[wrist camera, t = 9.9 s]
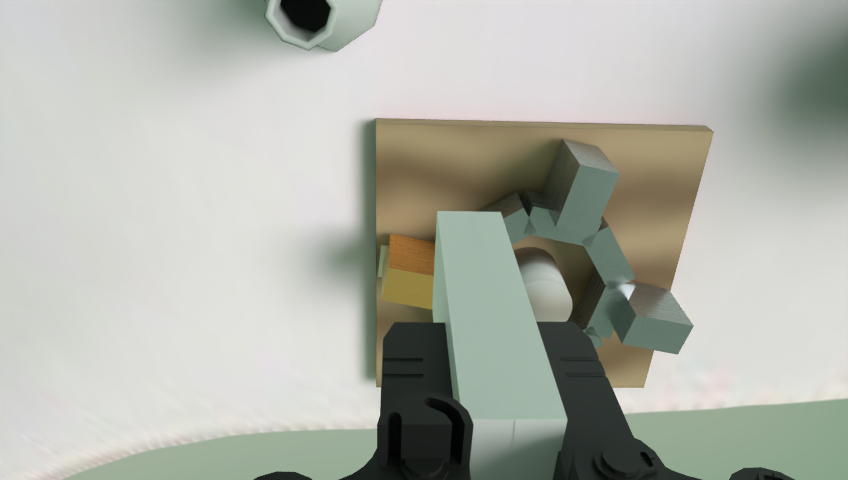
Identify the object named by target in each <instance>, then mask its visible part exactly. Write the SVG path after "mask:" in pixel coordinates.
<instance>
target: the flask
mask: <svg viewBox="0 0 848 480" xmlns="http://www.w3.org/2000/svg"><path fill="white" fill-rule="evenodd" d="M265 1H266V3H267V6H266V10H265V14H264V17H265V18H266V20H267V21H268V23H269V24H270V25H271V27H272V28H273V29H274V31H275V32H276V33H277V35H278V36H279V37H280V39H281V40H282V41H284V42H287V43H289V44H292V45H295V46H298V47H300V48H303V49H306V50H310V49H312V48H313V47H315V46H316V45H318V46H320V47H323V48H326V49H329V50H331V51H334V52H337V51H339V50H340V49H341V48H343V47H344V46H346V45H347V44H349V43H350V42H352V41H353V40H354V39H356V38H357V37H359V36H360V35H362V34H363V33H365V32H366V31H367V30H369V29H370V28H372V27H373V26H374V25H375V22H376V19H377V16H378V13H379V10H380V6H381V3H382V0H265Z"/></svg>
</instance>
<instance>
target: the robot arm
mask: <svg viewBox="0 0 848 480" xmlns="http://www.w3.org/2000/svg"><path fill="white" fill-rule="evenodd" d="M432 310H433V322H394V323H393V325H392V326H391V328H390V329H389V331H388V332H387V334H386V335H385V337H384V338H383V354H382V382H381V410H380V418H379V421H378V424H377V449H376V451H375V453H374V455H373V457H372V458H371V459H370V460H369V461H368V463H367V464H366V465H365V466H364V467H362V468H361V469H360V470H358V471H357V472H355V473H353V474H352V475H349V476H347V477H344V478H342V479H339V480H701V479H697V478H694V477H690V476H686V475H683V474H680V473H677V472H675V471H672V470H670V469H668V468H666V467H665V466H664V464H663V463H662V462H661V460H660V458H659V457H658V456H657V454H656V453H655V451H653V450H652V449H650V448H649V447H648V446H647V445H646V444H644V443H643V442H642V441H640V440H638V439H636V438H634V437H633V435H632V433H631V431H630V428H629V426H628V423H627V421H626V419H625V417H624V414H623V412H622V410H621V407H620V405H619V403H618V400H617V398H616V396H615V393H614V391H613V389H612V387H611V384H610V382H609V380H608V377H606V375H605V374H606V373H605V370H604V368H603V366H602V363H601V361H599V357H598V354H597V352H596V350H595V347H594V345H593V343H592V340H591V338H590V337H589V336H588V335H587V334H586V333H584V332H583V331H582V330H581V329H580V328H579V327H578V326H577V325H576V324H575V323H574V322H536V320H535V317H534V314H533V310H532V307H531V304H530V301H529V298H528V295H527V292H526V289H525V286H524V282H523V279H522V276H521V273H520V270H519V267H518V264H517V261H516V258H515V255H514V251H513V248H512V245H511V242H510V239H509V236H508V233H507V230H506V227H505V223H504V220H503V217H502V214H501V212H473V211H437V223H436V242H435V262H434V281H433V301H432ZM254 480H312V479H311V478H309V477H306V476H304V475H301V474H299V473H296V472H274V473H270V474H267V475H263V476H260V477H257V478H256V479H254ZM729 480H794V479H792V478H790V477H788V476H786V475H784V474H782V473H781V472H777V471H773V470H769V469H765V468H761V467H760V468H743V469H741V470H739V471H737V472H735V473H733V474H732V475H731V477H730V479H729Z"/></svg>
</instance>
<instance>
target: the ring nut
mask: <svg viewBox="0 0 848 480" xmlns="http://www.w3.org/2000/svg"><path fill="white" fill-rule="evenodd" d="M619 175H620V173H619V171H618V170H617V169H616V168H615V166H614V165H613V164H612V163H611V161H610V160H609V159H608V158H607V156H606V155H605V154H604V153H603V152H602V150H601V149H600V148H599V147H598V146H594V145H590V144H586V143H581V142H577V141H573V140H569V139H564V138H562V140H561V143H560V145H559V148H558V151H557V153H556V156H555V159H554V162H553V164H552V167H551V170H550V172H549V175H548V178H547V180H546V183H545V186H544V189H543V191H542V193H537V192H533V191H528V190H526V192H525V195H524V198H523V200H521V198H520V196H519V194H518V193H517V192H515V193H513V194H511V195H509V196H508V197H506V198H504V199H502V200H500V201H498V202H497V203H495V204H493V205H491V206H489V207H487V208H486V209H484V210H482V211H480V212H501V214H502V217H503V220H504V223H505V227H506V230H507V233H508V236H509V239H510V242H511V245H512V244H514V243H516V242H518V241H520V240H522V239H524V238H526V237H528V236H529V235H533V236H538V237H543V238H548V239H553V240H557V241H562V242H567V243H572V244H577V245H582V246H584V247H585V249H586V250H587V252H588V254H589V256H590V258H591V260H592V261H593V263H594V265H595V267H596V268H595V270H594V272H593V274H592V277H591V279H590V281H589V283H588V286H587V288H586V290H585V292H584V295H583V297H582V299H581V301H580V304H579V306H578V308H577V309H575V310H573V311H572V312H571V314H570V317H569V318H568V320H567V321H566V322H574V323H575V324H576V325H577V326H578V327H579V328H580V329H581V330H582V331H583V332H584V333H586V334H587V335H588V336H589V337H590V338H591V340H592V343H593V345H594V347H595V348H597V347H600V346H602V345H603V342H602V340H601V338H600V337H602V338H607V339H610V337H611V335H612V333H613V331H614V330H615V332H616V334H617V336H618V338H619V340H620V342H621V344H624V345H629V346H634V347H640V348H645V349H651V350H656V351H662V352H667V353H673V354H678V353H679V351H680V349H681V348H682V346H683V344H684V342H685V340H686V339H687V337H688V335H689V333H690V332H691V330H692V328H693V324H692V323H691V321H690V320H689V319H688V317H687V316H686V314H685V313H684V311H683V310H682V308H681V307H680V305H679V304H678V303H677V301H676V300H675V298H674V297H673V295H672V294H671V292H670V291H669V290H668V289H666V288H661V287H655V286H650V285H645V284H640V283H635V282H633V280H632V279H635V278H636V277H635V275H634V273H633V271H632V269H631V267H630V265H629V264H628V262H627V260H626V258H625V256H624V254H623V252H622V250H621V248H620V246H619V244H618V242H617V240H616V238H615V236H614V234H613V233H612V231H611V229H610V227H609V225H608V223H607V222H606V220H605V219H604V217H603V216H602V215H603V213H604V210H605V208H606V206H607V203H608V201H609V199H610V196H611V194H612V192H613V189H614V187H615V185H616V182H617V180H618V178H619ZM434 262H435V243H434V242H429V241H424V240H419V239H414V238H409V237H404V236H399V235H394V234H390V236H389V240H388V244H387V248H386V252H385V256H384V260H383V265H382V288H381V300H382V301H388V302H393V303H399V304H404V305H410V306H415V307H421V308H426V309H432V301H433V281H434Z"/></svg>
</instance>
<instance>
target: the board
mask: <svg viewBox="0 0 848 480" xmlns="http://www.w3.org/2000/svg"><path fill="white" fill-rule="evenodd" d="M713 133H714V132H713V131H712V130H711V129H709V128H708V127H706V126H686V125H643V124H599V123H555V122H512V121H468V120H425V119H381V118H376V387H381V382H382V354H383V338H384V337H385V335H386V334H387V332H388V331H389V329H390V328H391V326H392V325H393V323H394V322H433V310H432V309H426V308H421V307H415V306H410V305H404V304H399V303H393V302H388V301H382V300H381V288H382V265H383V260H384V256H385V252H386V248H387V244H388V240H389V236H390V234H394V235H399V236H404V237H409V238H414V239H419V240H424V241H429V242H434V243H435V242H436V223H437V211H473V212H480V211H482V210H484V209H486V208H487V207H489V206H491V205H493V204H495V203H497V202H498V201H500V200H502V199H504V198H506V197H508V196H509V195H511V194H513V193H515V192H517V193H518V194H519V196H520V198H521V200H523V198H524V195H525V192H526V190H528V191H533V192H537V193H542V191H543V189H544V186H545V183H546V180H547V178H548V175H549V172H550V170H551V167H552V164H553V162H554V159H555V156H556V153H557V151H558V148H559V145H560V143H561V140H562V138H564V139H569V140H573V141H577V142H581V143H586V144H590V145H594V146H598V147H599V148H600V149H601V150H602V152H603V153H604V154H605V155H606V156H607V158H608V159H609V160H610V161H611V163H612V164H613V165H614V166H615V168H616V169H617V170H618V171H619V173H620V175H619V178H618V180H617V182H616V185H615V187H614V189H613V192H612V194H611V196H610V199H609V201H608V203H607V206H606V208H605V210H604V213H603V215H602V216H603V217H604V219H605V220H606V222H607V223H608V225H609V227H610V229H611V231H612V233H613V234H614V236H615V238H616V240H617V242H618V244H619V246H620V248H621V250H622V252H623V254H624V256H625V258H626V260H627V262H628V264H629V265H630V267H631V269H632V271H633V273H634V275H635V277H636V278H635V279H632V280H633V282H635V283H640V284H645V285H650V286H655V287H661V288H666V289H668V290H669V291H670V290H671V286H672V283H673V279H674V275H675V272H676V268H677V264H678V261H679V257H680V253H681V250H682V246H683V242H684V239H685V235H686V231H687V228H688V224H689V220H690V217H691V213H692V209H693V206H694V202H695V199H696V195H697V191H698V188H699V184H700V180H701V177H702V173H703V169H704V166H705V162H706V158H707V155H708V151H709V147H710V144H711V140H712V136H713ZM512 248H513V251H514V255H515V258H516V261H517V264H518V267H519V270H520V273H521V276H522V279H523V282H524V286H525V289H526V292H527V295H528V298H529V301H530V304H531V307H532V310H533V314H534V317H535V320H536V322H566V321H567V320H568V318H569V317H570V314H571V312H572V311H573V310H575V309H577V308H578V306H579V304H580V301H581V299H582V297H583V295H584V292H585V290H586V288H587V286H588V283H589V281H590V279H591V277H592V274H593V272H594V270H595V268H596V267H595V265H594V263H593V261H592V260H591V258H590V256H589V254H588V252H587V250H586V249H585V247H584V246H582V245H577V244H572V243H567V242H562V241H557V240H553V239H548V238H543V237H538V236H533V235H529V236H528V237H526V238H524V239H522V240H520V241H518V242H516V243H514V244H512ZM600 338H601V340H602V342H603V345H602V346H600V347H597V348H595V350H596V352H597V354H598V357H599V361H601V363H602V366H603V368H604V370H605V373H606V374H605V375H606V377H608V380H609V382H610V384H611V387H612V388H644V385H645V381H646V377H647V374H648V370H649V367H650V363H651V359H652V356H653V352H654V350H651V349H645V348H640V347H634V346H629V345H624V344H621V342H620V340H619V338H618V336H617V334H616V332H615V330H614V331H613V333H612V335H611V337H610V339H607V338H602V337H600Z"/></svg>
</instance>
